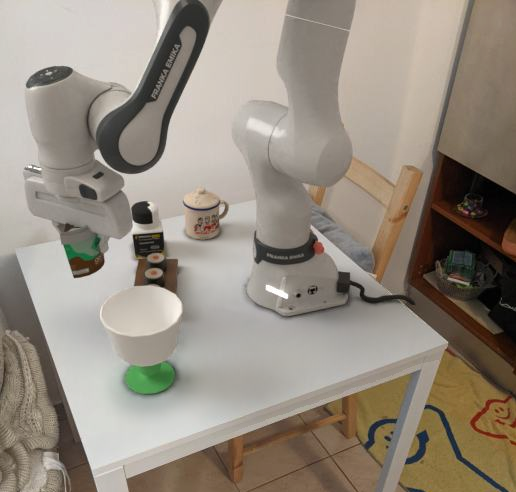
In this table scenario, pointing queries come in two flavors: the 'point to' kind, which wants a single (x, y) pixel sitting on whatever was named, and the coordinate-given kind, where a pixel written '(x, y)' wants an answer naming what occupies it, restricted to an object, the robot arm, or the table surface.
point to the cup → (144, 334)
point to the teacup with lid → (203, 213)
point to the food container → (81, 250)
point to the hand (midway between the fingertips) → (85, 246)
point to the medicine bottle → (147, 229)
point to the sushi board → (167, 274)
